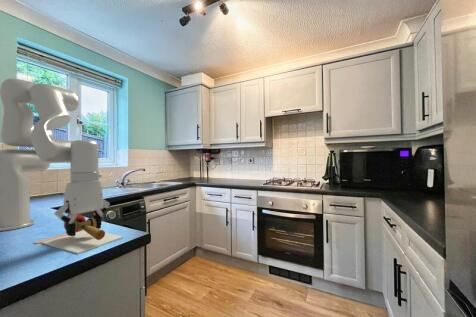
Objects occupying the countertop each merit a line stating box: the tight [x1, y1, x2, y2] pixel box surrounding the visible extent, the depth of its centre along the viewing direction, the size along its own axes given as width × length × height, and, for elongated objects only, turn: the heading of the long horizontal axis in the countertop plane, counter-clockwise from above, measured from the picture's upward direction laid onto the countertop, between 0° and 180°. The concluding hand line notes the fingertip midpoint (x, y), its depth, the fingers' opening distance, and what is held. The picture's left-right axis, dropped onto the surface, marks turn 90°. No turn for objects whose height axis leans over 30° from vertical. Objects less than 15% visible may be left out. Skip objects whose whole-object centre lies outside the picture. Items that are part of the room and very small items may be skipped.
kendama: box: [63, 214, 106, 240], centre depth 70 cm, size 8×6×18 cm
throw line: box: [33, 230, 83, 245], centre depth 76 cm, size 2×16×1 cm, turn 155°
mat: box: [40, 230, 124, 255], centre depth 71 cm, size 20×14×1 cm
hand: (84, 231), depth 70 cm, fingers closed on kendama, 7 cm apart
